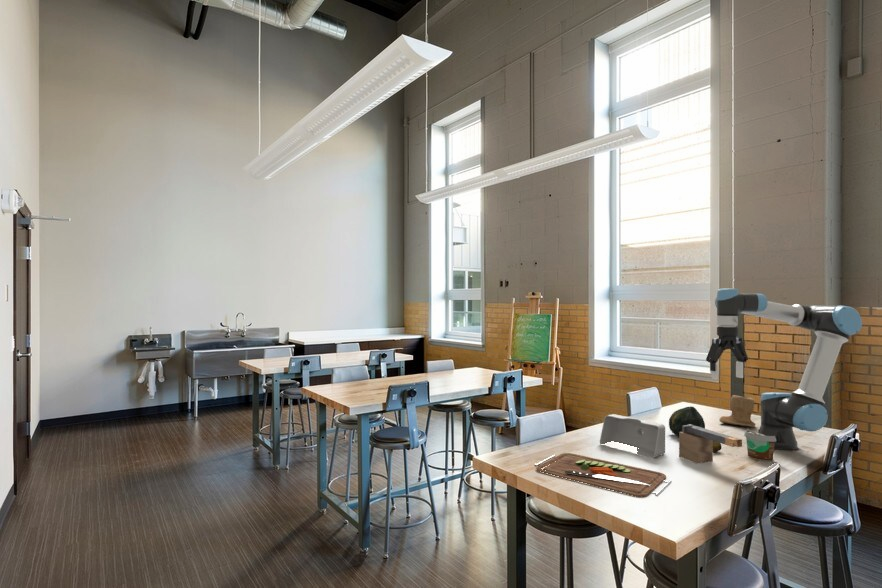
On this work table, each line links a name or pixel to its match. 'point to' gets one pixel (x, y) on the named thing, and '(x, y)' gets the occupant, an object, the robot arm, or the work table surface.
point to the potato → (716, 446)
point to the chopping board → (604, 474)
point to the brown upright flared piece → (740, 411)
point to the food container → (760, 445)
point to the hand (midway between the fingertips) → (727, 378)
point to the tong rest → (698, 446)
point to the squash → (685, 419)
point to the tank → (635, 434)
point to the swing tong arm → (711, 436)
